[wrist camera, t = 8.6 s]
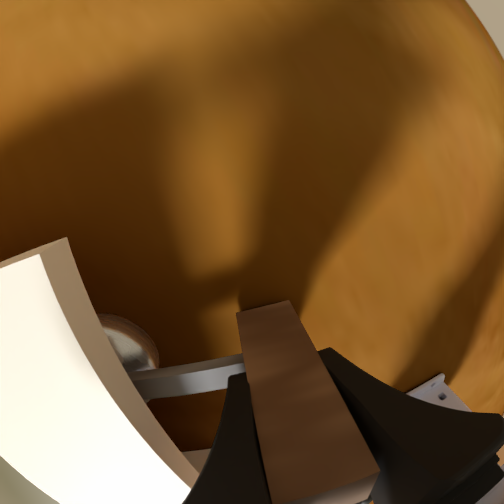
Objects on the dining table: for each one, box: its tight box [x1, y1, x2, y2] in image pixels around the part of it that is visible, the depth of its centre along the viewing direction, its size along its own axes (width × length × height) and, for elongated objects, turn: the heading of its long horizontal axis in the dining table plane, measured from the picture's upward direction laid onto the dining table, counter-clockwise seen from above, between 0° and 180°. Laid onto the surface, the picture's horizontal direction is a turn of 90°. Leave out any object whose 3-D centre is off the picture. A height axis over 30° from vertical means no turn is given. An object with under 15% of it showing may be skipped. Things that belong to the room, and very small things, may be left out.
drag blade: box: [127, 300, 380, 504], centre depth 8 cm, size 14×6×9 cm, turn 101°
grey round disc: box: [96, 313, 160, 404], centre depth 12 cm, size 5×5×2 cm
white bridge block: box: [0, 237, 211, 504], centre depth 10 cm, size 12×18×6 cm, turn 11°
